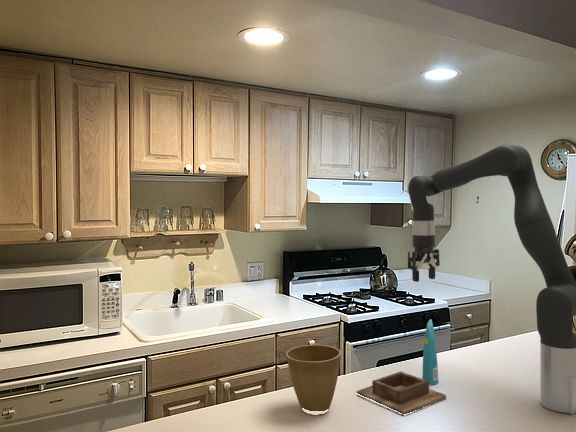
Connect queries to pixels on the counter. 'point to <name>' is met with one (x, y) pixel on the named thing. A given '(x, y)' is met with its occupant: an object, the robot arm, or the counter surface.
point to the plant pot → (314, 375)
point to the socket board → (402, 392)
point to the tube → (430, 356)
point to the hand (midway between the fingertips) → (424, 280)
